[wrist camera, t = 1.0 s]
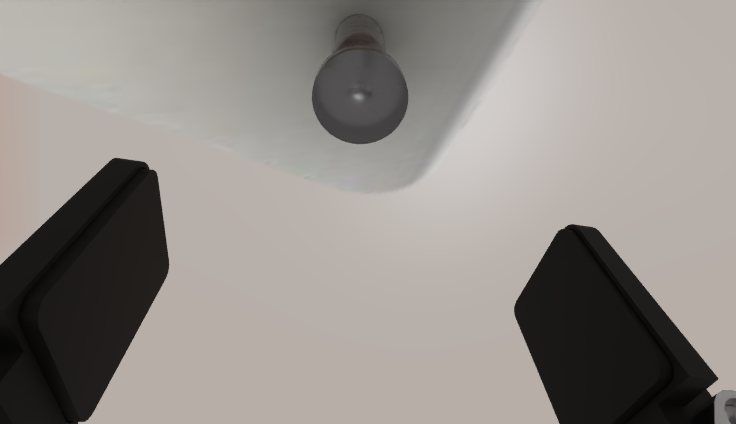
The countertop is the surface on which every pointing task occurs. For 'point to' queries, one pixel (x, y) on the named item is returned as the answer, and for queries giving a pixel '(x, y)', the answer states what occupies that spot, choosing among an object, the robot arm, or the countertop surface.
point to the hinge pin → (359, 85)
